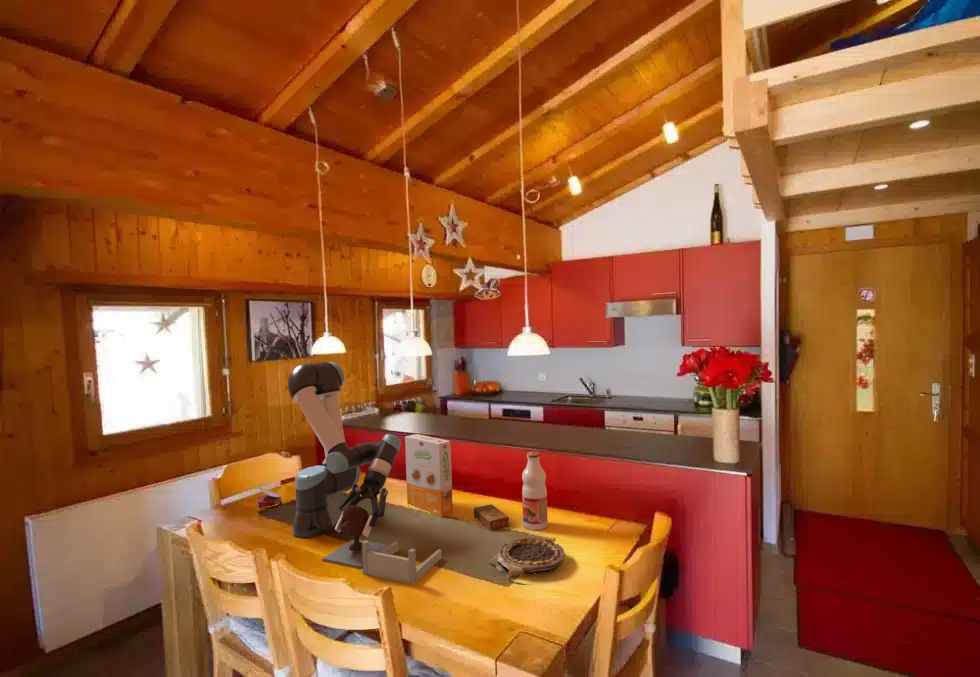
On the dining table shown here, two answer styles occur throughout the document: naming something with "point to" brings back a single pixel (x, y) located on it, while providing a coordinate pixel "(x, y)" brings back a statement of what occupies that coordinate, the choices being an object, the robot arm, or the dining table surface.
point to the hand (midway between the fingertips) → (350, 533)
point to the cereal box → (429, 474)
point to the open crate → (396, 563)
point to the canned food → (268, 498)
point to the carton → (491, 517)
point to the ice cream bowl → (354, 524)
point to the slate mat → (352, 554)
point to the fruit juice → (534, 494)
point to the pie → (529, 556)
